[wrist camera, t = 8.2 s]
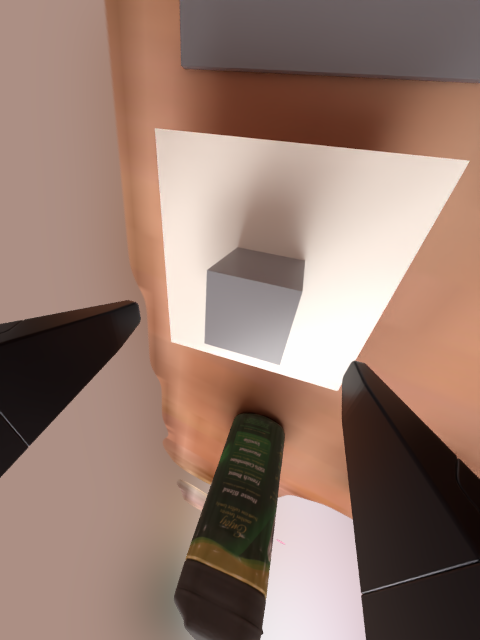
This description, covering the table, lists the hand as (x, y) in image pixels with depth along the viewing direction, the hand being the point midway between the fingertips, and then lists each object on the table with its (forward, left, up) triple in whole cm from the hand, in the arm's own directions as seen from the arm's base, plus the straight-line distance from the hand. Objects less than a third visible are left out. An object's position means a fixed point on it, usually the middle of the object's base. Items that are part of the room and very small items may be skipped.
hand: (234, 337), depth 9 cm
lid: (0, 0, -7) cm, 7 cm away
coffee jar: (-17, +19, -12) cm, 29 cm away
